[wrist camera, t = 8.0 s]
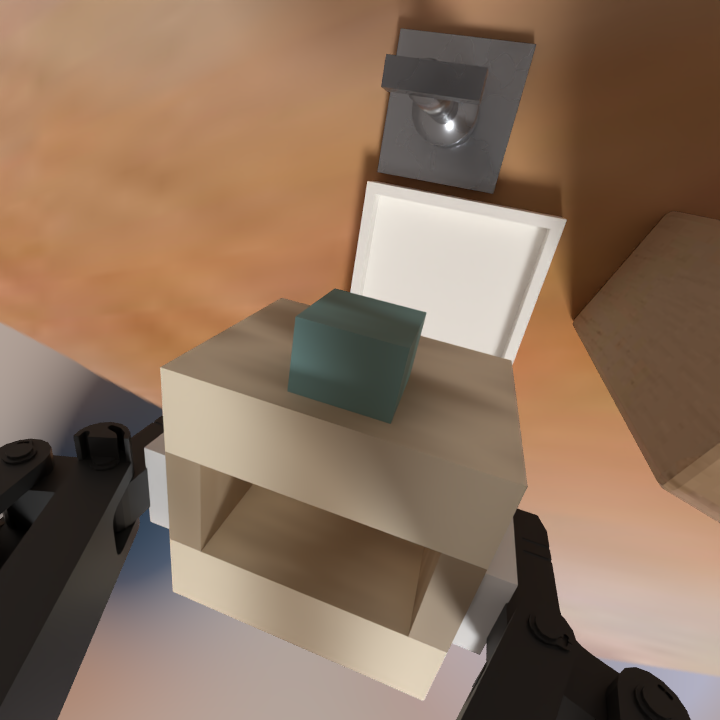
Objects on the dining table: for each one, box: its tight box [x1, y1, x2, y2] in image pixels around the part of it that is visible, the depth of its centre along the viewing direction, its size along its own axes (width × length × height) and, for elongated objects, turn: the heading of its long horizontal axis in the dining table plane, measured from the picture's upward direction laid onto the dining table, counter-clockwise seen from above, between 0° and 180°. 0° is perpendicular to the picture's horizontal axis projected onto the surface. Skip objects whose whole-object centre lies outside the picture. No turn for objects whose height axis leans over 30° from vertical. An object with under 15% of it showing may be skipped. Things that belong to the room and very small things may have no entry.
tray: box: [350, 181, 567, 364], centre depth 34 cm, size 15×15×2 cm
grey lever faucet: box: [377, 28, 536, 194], centre depth 24 cm, size 9×9×14 cm
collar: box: [160, 289, 528, 701], centre depth 12 cm, size 8×10×6 cm
